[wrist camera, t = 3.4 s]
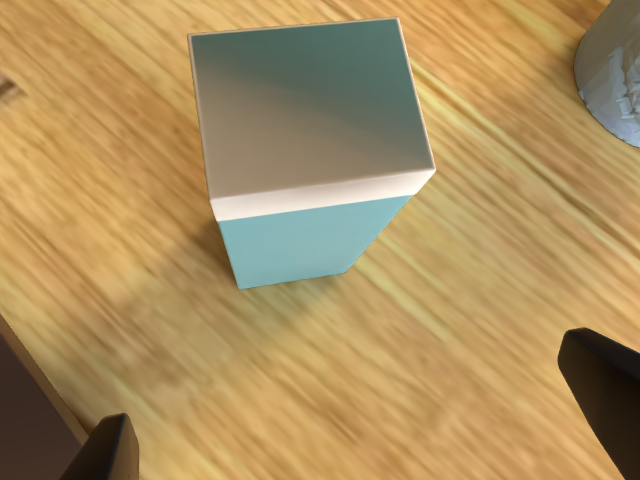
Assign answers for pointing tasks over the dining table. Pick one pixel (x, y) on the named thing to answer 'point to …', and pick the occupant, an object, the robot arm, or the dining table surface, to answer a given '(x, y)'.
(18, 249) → the dining table surface
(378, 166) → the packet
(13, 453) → the stand
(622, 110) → the grey embossed cup
